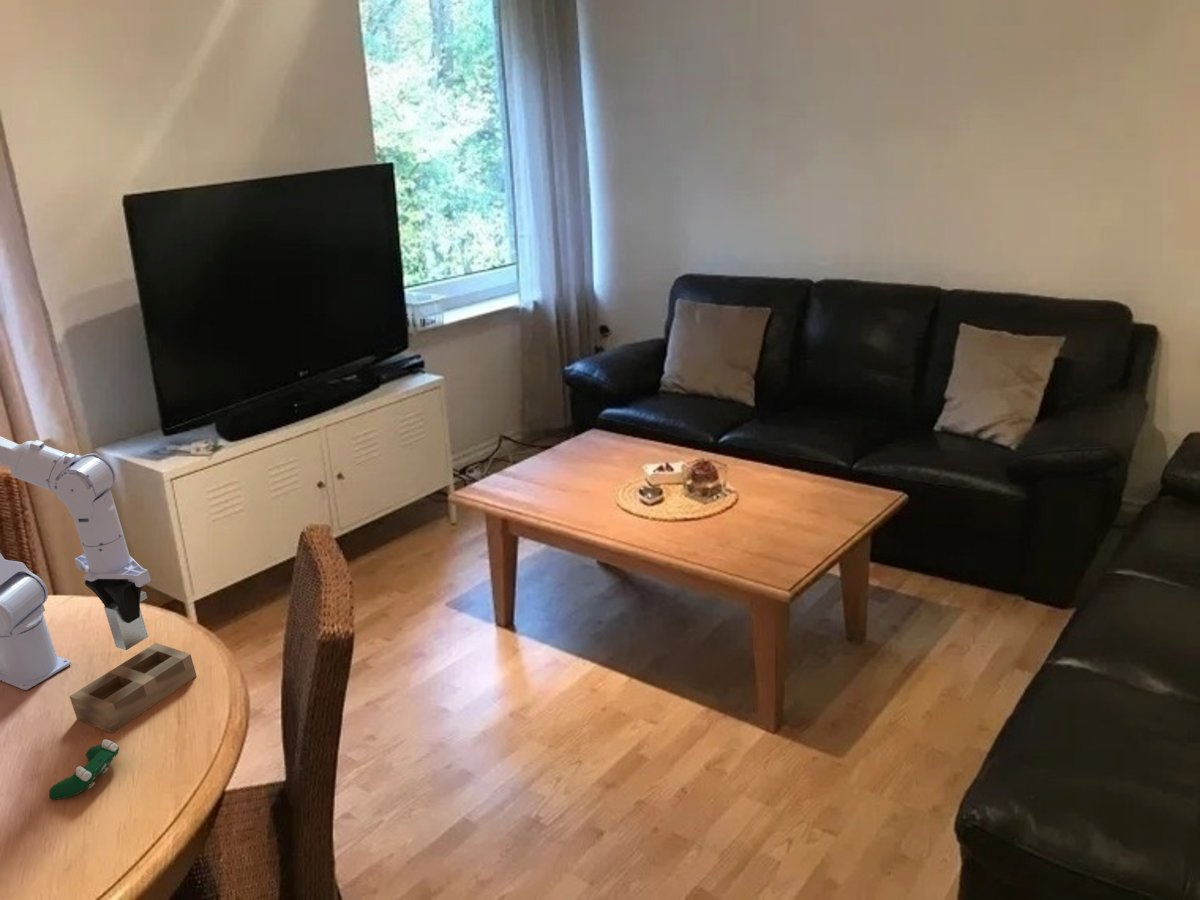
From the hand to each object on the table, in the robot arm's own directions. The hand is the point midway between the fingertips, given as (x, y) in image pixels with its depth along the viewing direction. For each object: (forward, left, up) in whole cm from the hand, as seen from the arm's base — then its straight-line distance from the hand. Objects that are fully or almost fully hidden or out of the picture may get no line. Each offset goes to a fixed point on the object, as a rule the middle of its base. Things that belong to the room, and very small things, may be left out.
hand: (126, 617), depth 159 cm
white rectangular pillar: (0, 0, -4) cm, 4 cm away
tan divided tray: (+5, -5, -10) cm, 12 cm away
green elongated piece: (+15, -20, -10) cm, 27 cm away
